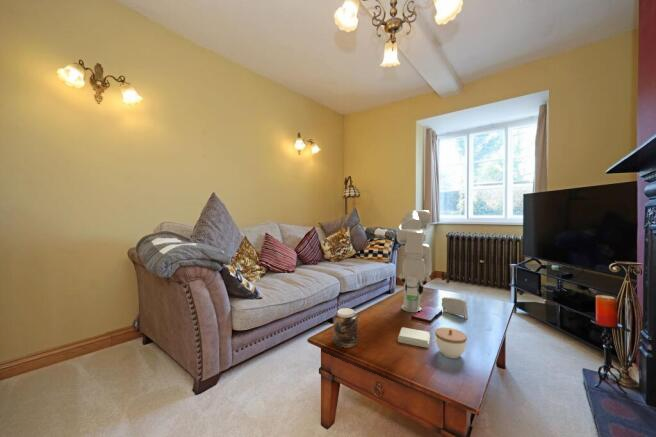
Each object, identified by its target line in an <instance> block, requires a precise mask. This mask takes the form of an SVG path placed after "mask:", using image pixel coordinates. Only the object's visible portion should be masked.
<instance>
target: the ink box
mask: <svg viewBox="0 0 656 437" xmlns="http://www.w3.org/2000/svg"><path fill="white" fill-rule="evenodd" d="M421 298H422V294H421V295H420V282H419V281H418V277H414V276H407V300H410V301H415V302H417V301H418V300H419V301H420V299H421Z"/></svg>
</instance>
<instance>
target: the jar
mask: <svg viewBox="0 0 656 437" xmlns="http://www.w3.org/2000/svg"><path fill="white" fill-rule="evenodd" d="M336 312H337V313H335V314H334V316H333V344H334V343H335V344H336V345H337V346H336V345H335V344H334V345H335V346H336V347H338V346H340V347H339V348H341V347H344V348H343V349H350V348H353V347H355V346H357V345H358V343H359V319H358V318H359V317H358V315H357V313H355V310H354V309H352V308H347V307H346V308H344V307H343V308H339V309H338V310H337V311H336Z"/></svg>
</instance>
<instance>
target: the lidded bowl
mask: <svg viewBox="0 0 656 437" xmlns="http://www.w3.org/2000/svg"><path fill="white" fill-rule="evenodd" d="M434 332H435V334H434V335H435V344H436V347H437V349H438V350H439V351H440V353H441V354H442V355H443V356H444V357H445V358H446V357H447V358H449V359H458V358H460V356H462V355H463V354H464V352H465V350H466V348H467V339H468V338H467V335H466V333H464V332H462V330H458V329H456V328H452V327H440V328H439V327H438V328H436V330H435V331H434Z"/></svg>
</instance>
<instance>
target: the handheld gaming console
mask: <svg viewBox="0 0 656 437" xmlns="http://www.w3.org/2000/svg"><path fill="white" fill-rule="evenodd" d="M441 307H442V311H443V312H444V313H449V314H450V315H456V316H461V317H463V318H464V319H465V320H468V319H469V315H468V307H467V302H466V300H465V299H464V298H457V297H452V296H451V297H447V296H445V297H442V298H441Z"/></svg>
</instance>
